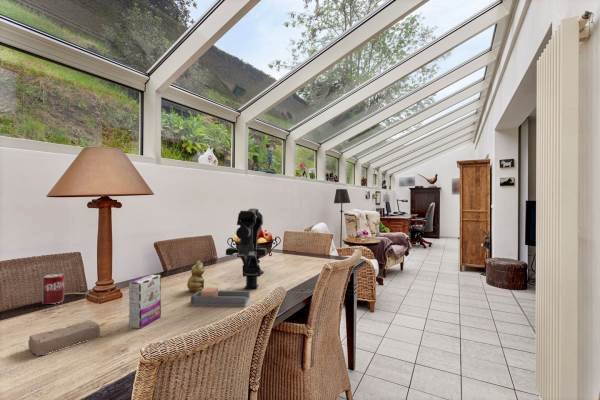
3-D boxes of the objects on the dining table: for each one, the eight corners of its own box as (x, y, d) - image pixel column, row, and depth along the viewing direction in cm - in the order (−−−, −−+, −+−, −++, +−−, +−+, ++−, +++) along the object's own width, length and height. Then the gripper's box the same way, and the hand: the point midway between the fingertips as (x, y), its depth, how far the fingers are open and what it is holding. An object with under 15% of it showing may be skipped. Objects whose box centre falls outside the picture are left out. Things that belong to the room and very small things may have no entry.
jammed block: (205, 296, 134) (205, 287, 134) (218, 296, 133) (218, 287, 134) (200, 300, 128) (200, 291, 128) (214, 300, 127) (214, 291, 128)
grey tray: (199, 296, 137) (199, 289, 137) (249, 297, 136) (249, 290, 136) (189, 305, 125) (189, 297, 125) (244, 306, 124) (245, 298, 124)
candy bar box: (150, 315, 114) (150, 274, 114) (161, 317, 113) (161, 275, 113) (127, 328, 103) (128, 281, 103) (139, 329, 102) (140, 282, 102)
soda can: (67, 301, 129) (67, 274, 129) (47, 306, 122) (48, 278, 122) (58, 298, 132) (58, 272, 132) (38, 303, 125) (39, 276, 125)
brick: (90, 330, 101) (90, 317, 101) (101, 336, 96) (101, 322, 96) (27, 351, 87) (27, 335, 87) (36, 359, 82) (36, 343, 82)
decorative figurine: (204, 292, 142) (205, 262, 142) (186, 294, 140) (187, 263, 140) (204, 287, 151) (204, 258, 152) (187, 288, 149) (187, 259, 149)
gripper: (222, 238, 130) (222, 273, 129) (264, 239, 129) (263, 273, 129) (228, 235, 141) (228, 267, 141) (267, 236, 141) (266, 268, 141)
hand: (246, 269), depth 137 cm, fingers closed
